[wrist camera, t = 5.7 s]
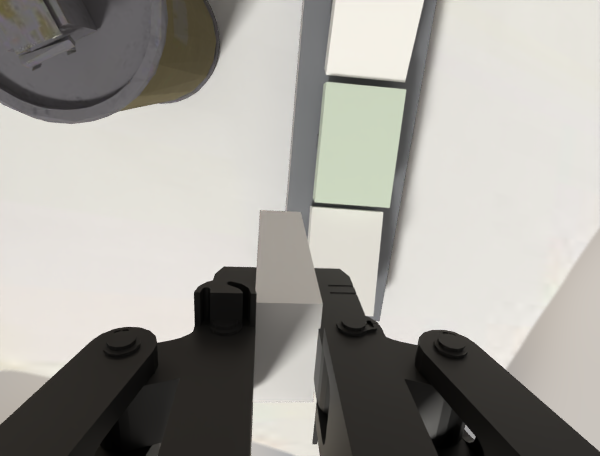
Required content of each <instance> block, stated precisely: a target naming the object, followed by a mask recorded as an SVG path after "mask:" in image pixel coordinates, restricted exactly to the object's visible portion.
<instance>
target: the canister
mask: <svg viewBox="0 0 600 456" xmlns="http://www.w3.org/2000/svg"><path fill="white" fill-rule="evenodd" d="M218 52H219V32H218V27H217V22H216V20H215V17H214V15H213V12H212V9H211V7H210V5H209V4H208V2H207V0H0V103H2V104H3V105H5V106H7V107H10V108H12V109H14V110H17V111H19V112H21V113H24V114H26V115H28V116H31V117H33V118H36V119H40V120H43V121H47V122H55V123H67V124H75V123H83V122H91V121H95V120H98V119H101V118H104V117H107V116H109V115H112V114H114V113H116V112H118V111H123V110H127V109H132V108H137V107H142V106H147V105H152V104H157V103H160V104H163V103H173V102H178V101H181V100H183V99H186V98H188V97H190V96H191V95H193V94H195V93H196V92H197V91H199V90H200V89H201V87H202V86H203V85H204V84H205V83H206V82H207V80H208V79H209V78H210V76H211V75H212V72H213V70H214V68H215V65H216V62H217V57H218Z"/></svg>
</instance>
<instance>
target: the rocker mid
mask: <svg viewBox="0 0 600 456" xmlns="http://www.w3.org/2000/svg"><path fill="white" fill-rule="evenodd" d="M405 96H406V89H397V88H386V87H376V86H365V85H355V84H344V83H334V82H326V83H324V84H323V95H322V106H321V116H320V127H319V137H318V148H317V159H316V169H315V180H314V190H313V199H314V202H317V203H330V204H344V205H357V206H370V207H384V208H390V202H391V195H392V188H393V181H394V174H395V167H396V160H397V153H398V146H399V139H400V132H401V124H402V117H403V110H404V103H405Z"/></svg>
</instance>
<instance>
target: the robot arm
mask: <svg viewBox="0 0 600 456" xmlns="http://www.w3.org/2000/svg"><path fill="white" fill-rule="evenodd" d="M194 311H195V327H194V330H193V332H192V333H190V334H189V335H186V336H184V337H182V338H178V339H175V340H170V341H165V342H160V343H157V341H156V336H155V335H154V334H153V333H152V332H150V331H149V330H146V329H143V328H140V327H122V328H117V329H113V330H111V331H108V332H106V333H103V334H101V335H99V336H98V337H96V338H95V339H93V340H92V341H91V342H90V343H89V344H88V345H87V346H85V347H84V348H83V349H82V350H81V351H80V352H79V353H78V354H77V355H76V356H75V357H73V358H72V359H71V360H70V361H69V362H68V363H67V364H66V365H65V366H64V367H63V368H62V369H60V370H59V371H58V372H57V373H56V374H55V375H54V376H53V377H52V378H51V379H50V380H48V381H47V382H46V383H45V384H44V385H43V386H42V387H41V388H40V389H39V390H38V391H37V392H35V393H34V394H33V395H32V396H31V397H30V398H29V399H28V400H27V401H26V402H25V403H23V404H22V405H21V406H20V407H19V408H18V409H17V410H16V411H15V412H14V413H13V414H12V415H10V417H8V418H7V419H6V420H5V421H4V422H3V423H2V424H1V425H0V456H251V440H252V415H253V402H313V400H314V390H315V392H316V398H317V404H316V414H315V424H314V434H313V444H317V442H318V445H319V453H320V456H600V452H599V451H598V450H597V449H596V448H595V447H594V446H592V445H591V444H590V443H589V442H588V441H587V440H585V439H584V438H583V437H582V436H581V435H580V434H579V433H578V432H576V431H575V430H574V429H573V428H572V427H571V426H569V425H568V424H567V423H566V422H565V421H564V420H563V419H561V418H560V417H559V416H558V415H557V414H556V413H555V412H553V411H552V410H551V409H550V408H549V407H548V406H547V405H545V404H544V403H543V402H542V401H540V400H539V399H538V398H537V397H536V396H535V395H534V394H533V393H532V392H530V391H529V390H528V389H527V388H526V387H525V386H524V385H522V384H521V383H520V382H519V381H518V380H516V378H514V377H513V376H512V375H511V374H510V373H509V372H507V371H506V370H505V369H504V368H503V367H502V366H501V365H499V364H498V363H497V362H496V361H495V360H494V359H493V358H491V357H490V356H489V355H488V354H487V353H486V352H485V351H483V350H482V349H481V348H480V347H479V346H478V345H476V344H475V343H474V342H472V341H471V340H469V339H468V338H466V337H464V336H462V335H459V334H457V333H455V332H452V331H447V330H431V331H428V332H425V333H423V334H422V335H421V336H420V337H419V341H418V345H413V344H409V343H404V342H399V341H396V340H392V339H389V338H387V337H385V335H384V332H383V330H382V328H381V327H380V325H379V324H378V323H377V322H376V321H375V320H373V319H371V318H370V317H368V316H365V313H364V311H363V308H362V306H361V303H360V301H359V298H358V296H357V295H356V291H355V289H354V287H353V284H352V281H351V279H350V276H348V275H347V274H346V273H345V272H343V271H342V270H341V269H334V268H314V265H313V261H312V257H311V253H310V249H309V244H308V240H307V236H306V232H305V228H304V224H303V219H302V215H301V212H290V211H266V210H260V219H259V236H258V253H257V268H255V267H223V268H222V269H220V270H219V271H218V272H217V273H216V274H215V276H214V279H213V281H209V282H206V283H204V284H202V285H200V286H199V287H198V288H197V289H196V290H195V292H194ZM465 424H466V425H467V427H468V428H469V429H470V430H471V431H472V432H473V434H474V435H475V436H476V438H475V440H474V439H473V438H472V437H471V436H470V435H468V433H467V432H466V431H465V430H464V428H465Z"/></svg>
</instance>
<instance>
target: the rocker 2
mask: <svg viewBox="0 0 600 456" xmlns="http://www.w3.org/2000/svg"><path fill="white" fill-rule="evenodd" d="M382 222H383V212H381V211H375V210H361V209H348V208H334V207H321V206H310V215H309V228H308V244H309V249H310V253H311V257H312V261H313V265H314V268H334V269H341V270H342V271H343V272H345V273H346V274H347V275H348V276H350V279H351V281H352V284H353V287H354V289H355V291H356V295H357V296H358V298H359V301H360V303H361V306H362V308H363V311H364V313H365V316H373V314H374V304H375V294H376V283H377V273H378V263H379V252H380V242H381V232H382Z"/></svg>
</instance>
